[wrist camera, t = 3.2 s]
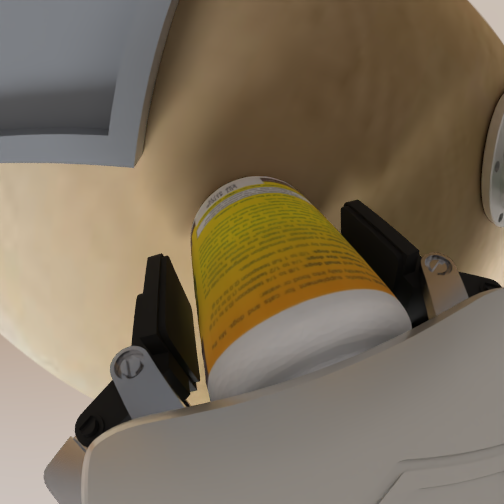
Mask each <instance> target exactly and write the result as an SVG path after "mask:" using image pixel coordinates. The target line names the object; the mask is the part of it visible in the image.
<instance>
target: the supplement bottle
mask: <svg viewBox="0 0 504 504" xmlns="http://www.w3.org/2000/svg"><path fill="white" fill-rule="evenodd" d="M191 256H192V267H193V278H194V290H195V298H196V306H197V315H198V324H199V331H200V338H201V346H202V355H203V360H204V368H205V376H206V384H207V388H208V392H209V397H210V401H211V402H212V401H216V400H221V399H225V398H229V397H233V396H237V395H241V394H244V393H248V392H252V391H255V390H259V389H262V388H266V387H269V386H272V385H276V384H279V383H282V382H285V381H288V380H291V379H294V378H297V377H300V376H303V375H306V374H309V373H312V372H314V371H317V370H320V369H322V368H325V367H328V366H330V365H333V364H336V363H338V362H341V361H343V360H346V359H348V358H350V357H353V356H355V355H358V354H360V353H362V352H365V351H367V350H369V349H371V348H374V347H376V346H378V345H380V344H382V343H384V342H387V341H389V340H391V339H393V338H395V337H397V336H399V335H401V334H403V333H405V332H407V331H409V330H411V329H412V325H411V321H410V318H409V316H408V314H407V312H406V310H405V309H404V307H403V306H402V304H401V303H400V302H399V300H398V299H397V298H396V297H395V295H394V294H393V293H392V292H391V290H390V289H389V288H388V287H387V286H386V285H385V283H384V282H383V281H382V280H381V279H380V277H379V276H378V275H377V274H376V273H375V272H374V271H373V270H372V268H371V267H370V266H369V265H368V264H367V263H366V262H365V260H364V259H363V258H362V257H361V256H360V255H359V254H358V253H357V251H356V250H355V249H354V248H353V247H352V246H351V245H350V244H349V243H348V242H347V240H346V239H345V238H344V237H343V236H342V235H341V234H340V233H339V232H338V231H337V229H336V228H335V227H334V226H333V225H332V224H331V223H330V222H329V221H328V220H327V219H326V218H325V217H324V216H323V215H322V214H321V213H320V212H319V211H318V210H317V209H316V208H315V207H314V206H313V205H312V204H311V203H310V202H309V200H308V199H306V198H305V197H304V196H303V195H302V194H301V193H300V192H299V191H298V190H297V189H295V188H294V187H293V186H291V185H289V184H288V183H286V182H284V181H281V180H279V179H275V178H272V177H267V176H251V177H245V178H241V179H237V180H234V181H232V182H229V183H227V184H225V185H223V186H222V187H220V188H219V189H217V190H216V191H215V192H214V193H212V194H211V195H210V196H209V197H208V198H207V199H206V200H205V202H204V203H203V204H202V206H201V207H200V209H199V210H198V212H197V214H196V216H195V219H194V222H193V225H192V229H191Z"/></svg>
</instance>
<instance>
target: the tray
mask: <svg viewBox="0 0 504 504" xmlns="http://www.w3.org/2000/svg"><path fill="white" fill-rule="evenodd" d="M178 2H179V0H0V163H66V164H88V165H104V166H117V167H130V168H134V167H135V165H136V164H137V162H138V160H139V159H140V157H141V156H142V154H143V147H144V140H145V134H146V127H147V122H148V116H149V111H150V105H151V100H152V95H153V91H154V86H155V82H156V77H157V73H158V69H159V65H160V61H161V57H162V53H163V50H164V46H165V43H166V39H167V36H168V32H169V29H170V26H171V23H172V20H173V16H174V13H175V10H176V8H177V5H178Z"/></svg>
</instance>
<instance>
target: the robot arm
mask: <svg viewBox="0 0 504 504" xmlns="http://www.w3.org/2000/svg"><path fill="white" fill-rule="evenodd" d="M481 183H482V201H483V207H484V210H485V214H486V216H487V217H488V219H489V220H490V221H491V222H493V223H494V224H495V225H497V226H499V227H504V94H503V95H502V97H501V98H500V100H499V102H498V104H497V106H496V108H495V111H494V114H493V117H492V119H491V123H490V127H489V131H488V135H487V140H486V145H485V150H484V158H483V166H482V180H481ZM341 235H342V236H343V237H344V238H345V239H346V240H347V242H348V243H349V244H350V245H351V246H352V247H353V248H354V249H355V250H356V251H357V253H358V254H359V255H360V256H361V257H362V258H363V259H364V260H365V262H366V263H367V264H368V265H369V266H370V267H371V268H372V270H373V271H374V272H375V273H376V274H377V275H378V276H379V277H380V279H381V280H382V281H383V282H384V283H385V285H386V286H387V287H388V288H389V289H390V290H391V292H392V293H393V294H394V295H395V297H396V298H397V299H398V300H399V302H400V303H401V304H402V306H403V307H404V309H405V310H406V312H407V314H408V316H409V318H410V321H411V325H412V329H411V330H409V331H407V332H405V333H403V334H401V335H399V336H397V337H395V338H393V339H391V340H389V341H387V342H384V343H382V344H380V345H378V346H376V347H374V348H371V349H369V350H367V351H365V352H362V353H360V354H358V355H355V356H353V357H350V358H348V359H346V360H343V361H341V362H338V363H336V364H333V365H330V366H328V367H325V368H322V369H320V370H317V371H314V372H312V373H309V374H306V375H303V376H300V377H297V378H294V379H291V380H288V381H285V382H282V383H279V384H276V385H272V386H269V387H266V388H262V389H259V390H255V391H252V392H248V393H244V394H241V395H237V396H233V397H229V398H225V399H221V400H216V401H212V402H208V403H204V404H199V405H195V406H191V405H190V403H189V402H188V401H187V397H188V396H189V395H190V392H191V391H196V390H197V387H196V382H199V381H200V374H199V366H198V359H197V350H196V342H195V333H194V324H193V314H192V309H191V305H190V303H189V301H188V299H187V297H186V294H185V292H184V290H183V288H182V286H181V283H180V281H179V279H178V277H177V274H176V272H175V270H174V268H173V265H172V263H171V261H170V258H169V256H163V254H162V253H161V254H158V255H155V256H151V257H148V260H147V267H146V274H145V282H144V290H143V294H139V295H138V296H137V299H136V307H135V316H134V325H133V335H132V346H130V347H127V348H125V349H123V350H121V351H120V352H119V353H117V354H116V356H115V357H114V358H113V360H112V362H111V365H110V373H111V377H112V379H113V380H112V381H111V382H110V383H109V384H108V386H107V387H106V388H105V389H104V390H103V391H102V392H101V393H100V394H99V395H98V396H97V397H96V398H95V400H94V401H93V402H92V403H91V404H90V405H89V406H88V407H87V408H86V409H85V410H84V412H83V413H82V414H81V415H80V416H79V418H78V419H77V422H76V424H75V434H76V436H75V437H74V438H73V437H70V438H69V439H68V440H67V441H66V443H65V444H64V445H63V446H62V448H61V449H60V450H59V451H58V453H57V454H56V455H55V457H54V458H53V459H52V461H51V462H50V463H49V464H48V466H47V467H46V469H45V471H44V480H45V484H46V486H47V488H48V489H49V491H50V492H51V493H52V495H53V496H54V497H55V499H56V500H57V501H58V503H59V504H504V287H503V288H502V287H501V286H500V285H499V284H498V283H497V282H496V281H494V280H491V279H488V278H484V277H480V276H475V275H471V274H466V273H462V272H458V270H457V268H456V265H455V264H454V262H453V261H452V260H451V259H450V258H449V257H448V256H446V255H444V254H441V253H435V252H433V253H428V254H425V255H424V256H423V257H421V256H420V255H419V250H418V249H417V248H416V247H415V246H414V245H412V244H411V243H410V242H409V241H408V240H407V239H406V238H404V237H403V236H402V235H401V234H400V233H399V232H397V231H396V230H395V229H394V228H393V227H392V226H390V225H389V224H388V223H387V222H386V221H384V220H383V219H382V218H381V217H379V216H378V215H377V214H376V213H374V212H373V211H372V210H371V209H369V208H368V207H367V206H366V205H364V204H363V203H362V202H361V201H359V200H354V201H350V202H346V203H345V204H344V207H342V208H341Z"/></svg>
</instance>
